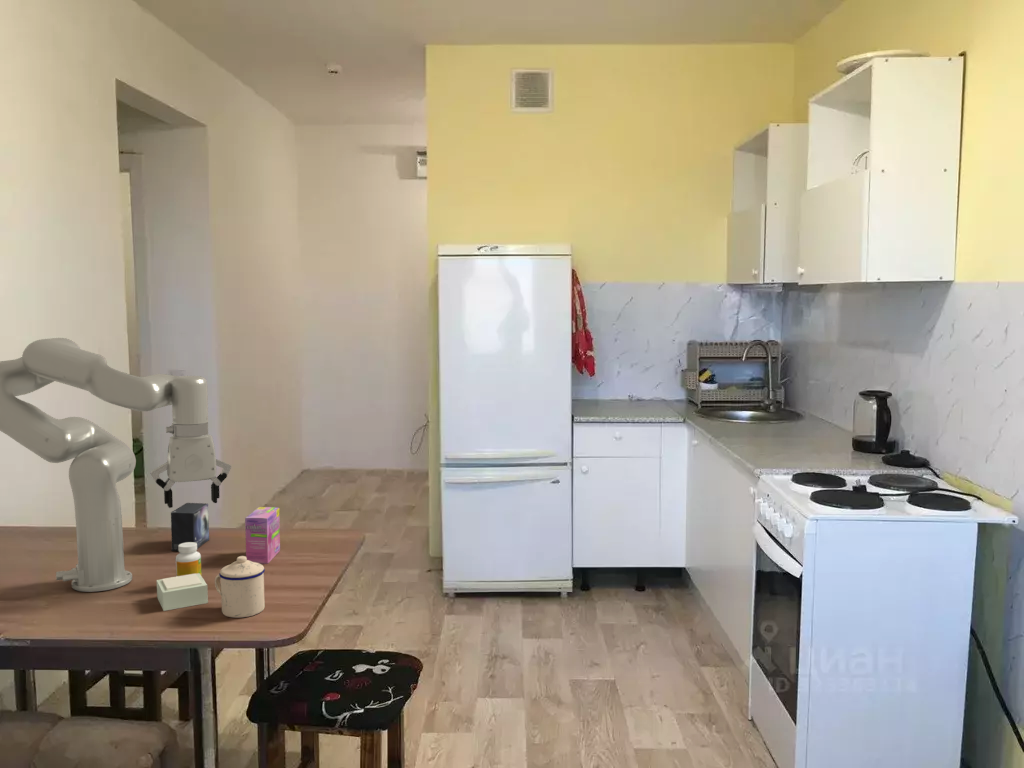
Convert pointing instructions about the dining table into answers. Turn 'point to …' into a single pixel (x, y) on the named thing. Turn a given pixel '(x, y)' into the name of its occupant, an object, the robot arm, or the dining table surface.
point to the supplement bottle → (188, 559)
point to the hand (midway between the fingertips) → (192, 504)
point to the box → (262, 534)
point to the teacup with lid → (241, 588)
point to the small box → (190, 524)
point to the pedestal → (182, 591)
